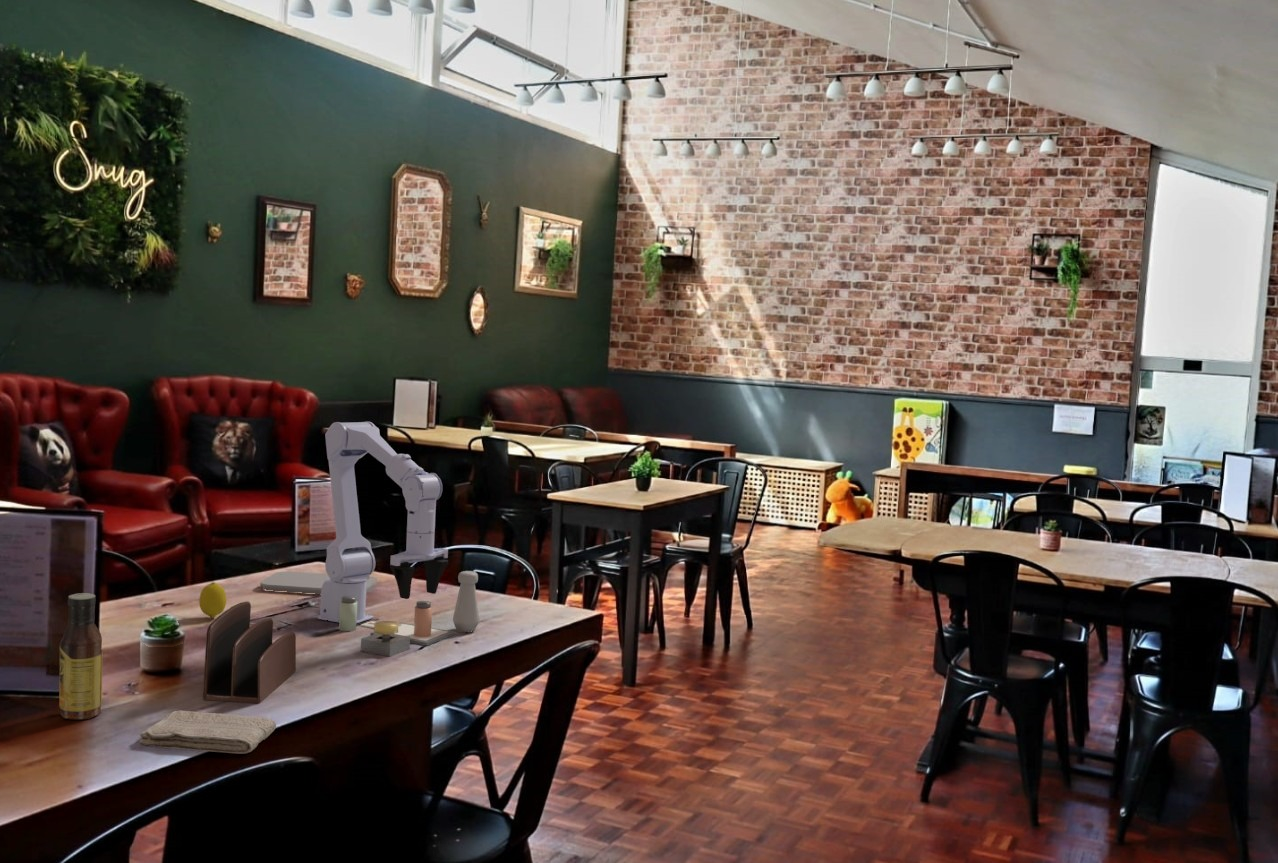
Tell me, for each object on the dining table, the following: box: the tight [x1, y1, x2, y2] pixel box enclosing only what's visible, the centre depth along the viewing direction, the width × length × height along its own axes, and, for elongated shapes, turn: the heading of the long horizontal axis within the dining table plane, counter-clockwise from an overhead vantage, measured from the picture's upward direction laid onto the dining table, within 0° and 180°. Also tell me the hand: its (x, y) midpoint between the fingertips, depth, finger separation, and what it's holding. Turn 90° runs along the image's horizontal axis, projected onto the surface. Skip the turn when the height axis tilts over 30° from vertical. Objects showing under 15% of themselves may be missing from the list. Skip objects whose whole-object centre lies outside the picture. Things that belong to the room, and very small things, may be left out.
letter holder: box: [202, 601, 297, 704], centre depth 211 cm, size 10×20×14 cm, turn 179°
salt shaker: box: [452, 570, 480, 633], centre depth 258 cm, size 6×6×13 cm
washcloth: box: [139, 709, 277, 755], centre depth 184 cm, size 12×18×3 cm, turn 88°
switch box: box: [360, 633, 411, 657], centre depth 239 cm, size 7×7×2 cm
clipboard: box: [370, 622, 456, 646], centre depth 252 cm, size 14×11×1 cm
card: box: [360, 620, 377, 629], centre depth 258 cm, size 5×4×1 cm
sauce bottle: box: [58, 592, 103, 721], centre depth 189 cm, size 7×6×20 cm
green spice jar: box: [338, 596, 357, 632], centre depth 253 cm, size 4×4×7 cm
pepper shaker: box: [413, 600, 433, 637], centre depth 249 cm, size 4×4×7 cm
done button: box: [373, 620, 399, 640], centre depth 239 cm, size 5×5×4 cm
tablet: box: [259, 571, 379, 594], centre depth 291 cm, size 16×26×2 cm, turn 88°
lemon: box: [198, 582, 227, 619], centre depth 256 cm, size 6×6×8 cm
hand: (418, 595), depth 247 cm, fingers open, 7 cm apart
